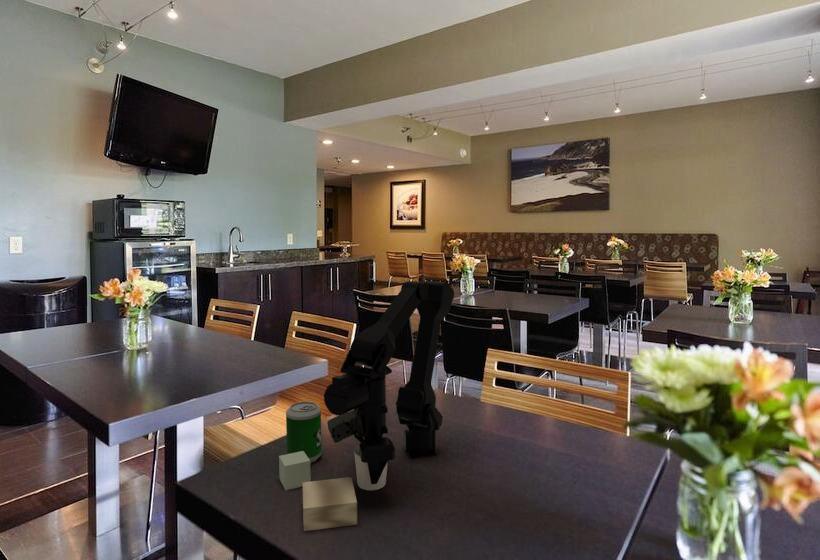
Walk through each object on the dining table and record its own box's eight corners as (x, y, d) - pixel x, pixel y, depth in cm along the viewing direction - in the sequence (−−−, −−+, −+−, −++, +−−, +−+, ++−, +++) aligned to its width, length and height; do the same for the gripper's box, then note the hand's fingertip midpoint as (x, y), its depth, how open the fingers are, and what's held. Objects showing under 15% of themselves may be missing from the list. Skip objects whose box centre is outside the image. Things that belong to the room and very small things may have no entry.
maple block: (351, 497, 94) (351, 477, 94) (357, 524, 86) (356, 502, 85) (303, 502, 92) (302, 482, 92) (303, 531, 84) (303, 508, 83)
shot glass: (362, 495, 95) (361, 460, 94) (349, 479, 101) (349, 446, 100) (394, 486, 98) (394, 452, 98) (380, 472, 104) (380, 439, 104)
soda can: (313, 468, 106) (312, 413, 105) (281, 464, 108) (279, 410, 106) (326, 452, 113) (325, 401, 112) (295, 449, 115) (294, 399, 114)
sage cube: (303, 473, 104) (303, 450, 103) (310, 484, 99) (310, 460, 99) (279, 479, 101) (279, 455, 101) (285, 490, 97) (284, 466, 96)
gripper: (326, 388, 105) (327, 459, 107) (333, 420, 87) (334, 505, 89) (379, 384, 108) (379, 454, 109) (395, 415, 90) (395, 498, 91)
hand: (371, 475), depth 100 cm, fingers closed on shot glass, 6 cm apart
